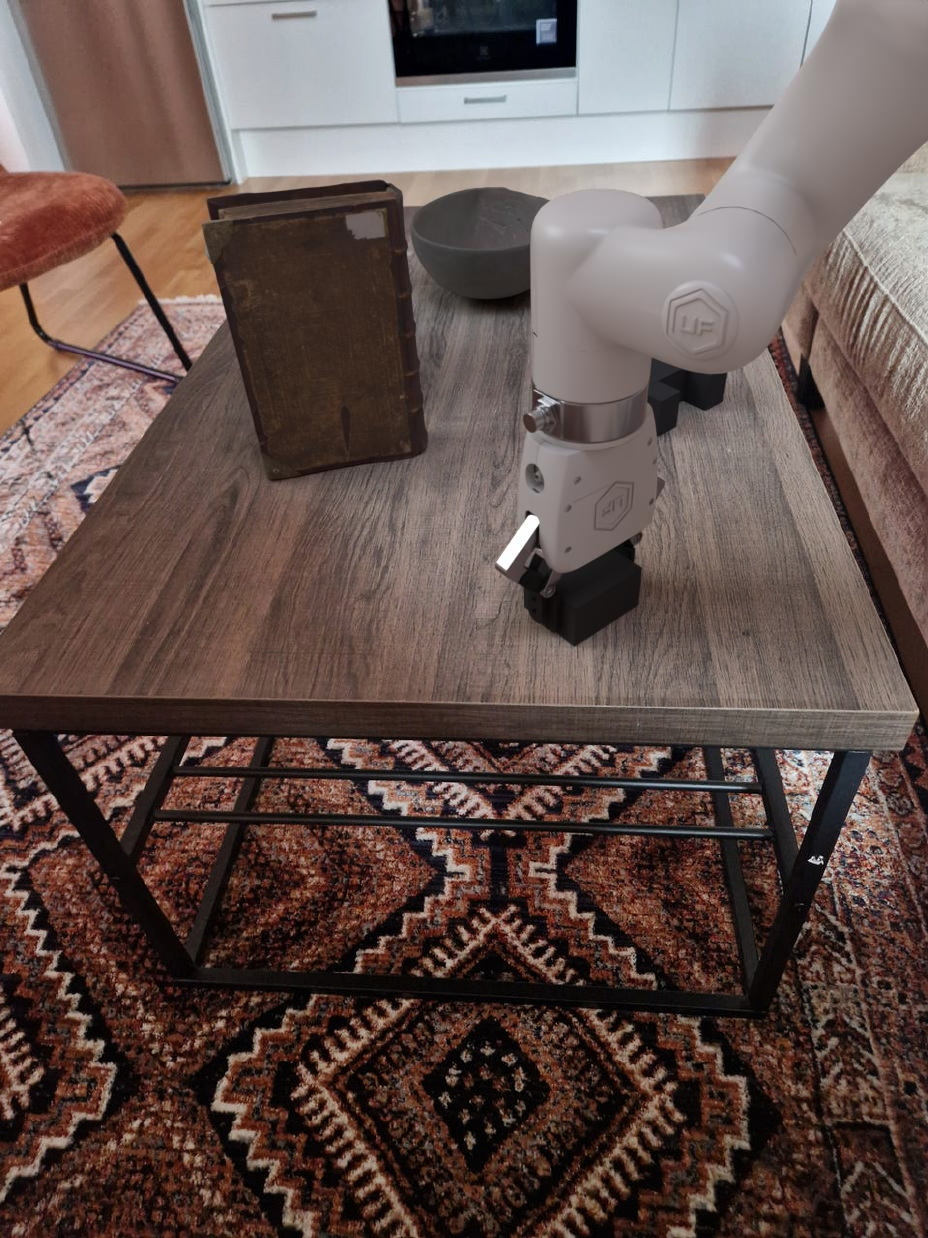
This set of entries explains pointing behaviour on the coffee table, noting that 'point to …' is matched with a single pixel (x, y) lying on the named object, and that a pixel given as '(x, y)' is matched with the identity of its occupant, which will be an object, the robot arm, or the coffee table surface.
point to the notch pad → (680, 392)
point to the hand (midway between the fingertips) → (580, 598)
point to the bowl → (477, 241)
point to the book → (321, 322)
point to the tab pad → (595, 594)
